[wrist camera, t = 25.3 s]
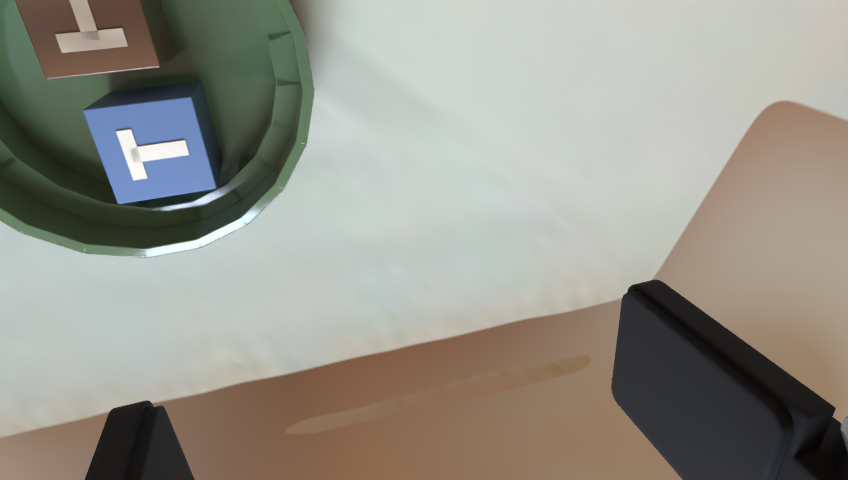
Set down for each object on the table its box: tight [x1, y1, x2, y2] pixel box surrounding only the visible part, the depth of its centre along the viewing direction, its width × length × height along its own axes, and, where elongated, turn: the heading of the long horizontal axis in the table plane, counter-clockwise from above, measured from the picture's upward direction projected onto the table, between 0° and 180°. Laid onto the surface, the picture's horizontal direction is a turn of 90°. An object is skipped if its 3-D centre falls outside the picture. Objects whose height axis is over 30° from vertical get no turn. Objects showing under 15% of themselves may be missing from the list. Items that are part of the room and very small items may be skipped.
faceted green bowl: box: [0, 0, 314, 258], centre depth 27 cm, size 18×18×6 cm
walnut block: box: [15, 0, 175, 80], centre depth 25 cm, size 5×5×5 cm
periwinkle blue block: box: [83, 82, 223, 204], centre depth 28 cm, size 5×5×5 cm
